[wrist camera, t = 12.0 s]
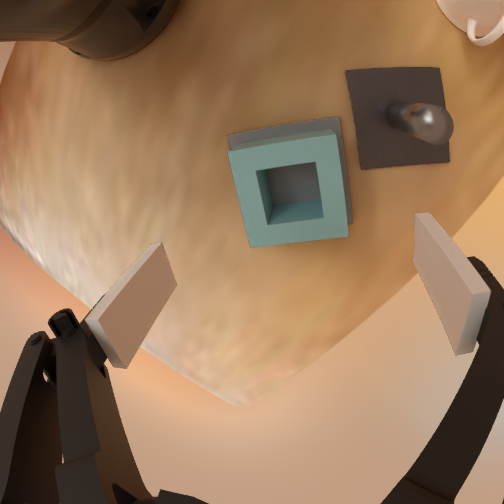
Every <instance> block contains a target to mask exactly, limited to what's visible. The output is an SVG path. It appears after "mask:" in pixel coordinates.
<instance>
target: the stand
mask: <svg viewBox="0 0 504 504" xmlns="http://www.w3.org/2000/svg"><path fill="white" fill-rule="evenodd" d="M345 74H346V79H347V84H348V89H349V94H350V99H351V105H352V111H353V117H354V123H355V129H356V136H357V143H358V150H359V158H360V166H361V169H370V168H380V167H391V166H403V165H415V164H429V163H446V162H450V155H449V139H450V137H451V135H452V133H453V120H452V118H451V116H450V114H449V112H448V111H447V110H446V108H445V100H444V93H443V86H442V80H441V74H440V68H433V67H395V68H372V69H357V70H345Z"/></svg>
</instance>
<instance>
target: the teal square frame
mask: <svg viewBox="0 0 504 504" xmlns="http://www.w3.org/2000/svg"><path fill="white" fill-rule="evenodd" d="M227 154H228V158H229V162H230V166H231V170H232V175H233V179H234V183H235V187H236V191H237V195H238V199H239V204H240V208H241V212H242V216H243V220H244V224H245V229H246V233H247V237H248V241H249V245H250V248H255V247H264V246H272V245H281V244H289V243H297V242H306V241H314V240H323V239H332V238H340V237H349V235H348V224H347V214H346V204H345V195H344V187H343V179H342V171H341V164H340V157H339V150H338V144H337V138H336V134H335V133H334V132H333V130H332V129H325V130H317V131H310V132H303V133H296V134H290V135H284V136H278V137H272V138H266V139H260V140H255V141H250V142H245V143H240V144H238V145H237V146H235V147H234V148H232V149H231V150H230V151H228V152H227ZM309 162H316V168H317V174H318V180H319V187H320V194H321V200H316V201H308V202H301V203H293V204H286V205H279V206H273V203H272V198H271V193H270V188H269V184H268V179H267V174H266V169H269V168H275V167H281V166H288V165H295V164H302V163H309Z"/></svg>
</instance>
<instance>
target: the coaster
mask: <svg viewBox="0 0 504 504" xmlns="http://www.w3.org/2000/svg"><path fill="white" fill-rule="evenodd" d="M325 129H332V130H333V132H334V133H335V134H336V138H337V144H338V150H339V157H340V164H341V171H342V179H343V187H344V195H345V204H346V214H347V224H351V223H353V218H352V208H351V198H350V189H349V180H348V172H347V165H346V158H345V151H344V144H343V137H342V131H341V125H340V119H339V117H330V118H322V119H314V120H307V121H300V122H294V123H288V124H281V125H276V126H270V127H264V128H259V129H254V130H249V131H244V132H239V133H234V134H229V135H227V138H228V142H229V147H230V150H231V149H232V148H234V147H235V146H237V145H238V144H240V143H245V142H250V141H255V140H260V139H266V138H272V137H278V136H284V135H290V134H296V133H303V132H310V131H317V130H325ZM266 174H267V179H268V184H269V188H270V193H271V198H272V203H273V206H279V205H286V204H293V203H301V202H308V201H316V200H321V194H320V187H319V180H318V174H317V168H316V162H309V163H302V164H295V165H288V166H281V167H275V168H269V169H266Z"/></svg>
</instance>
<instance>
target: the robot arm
mask: <svg viewBox="0 0 504 504" xmlns="http://www.w3.org/2000/svg"><path fill="white" fill-rule="evenodd" d="M178 2H179V0H0V42H3V41H4V42H5V41H51V42H57V43H59V44H61V45H63V46H66V47H68V48H69V49H70V50H71V51H72V52H73V53H75V54H77V55H78V56H81V57H83V58H87V59H92V60H115V59H120V58H123V57H126V56H129V55H131V54H133V53H135V52H137V51H139V50H140V49H142V48H143V47H145V46H146V45H147V44H149V43H150V42H151V41H152V40H153V39H155V38H156V37H157V36H158V35H159V33H160V32H161V31H162V30H163V29H164V28H165V26H166V25H167V24H168V22H169V21H170V19H171V18H172V16H173V14H174V12H175V10H176V8H177V5H178ZM413 263H414V265H415V267H416V269H417V271H418V273H419V275H420V277H421V279H422V281H423V283H424V285H425V287H426V289H427V291H428V293H429V295H430V298H431V300H432V302H433V304H434V306H435V308H436V310H437V313H438V315H439V317H440V319H441V322H442V324H443V326H444V329H445V331H446V333H447V335H448V338H449V341H450V343H451V345H452V348H453V350H454V353H455V355H456V356H457V355H461V354H466V353H470V352H473V349H474V347H475V344H476V341H478V343H479V348H478V350H477V352H476V355H475V357H474V359H473V362H472V364H471V366H470V368H469V370H468V372H467V375H466V377H465V379H464V381H463V383H462V385H461V387H460V389H459V391H458V393H457V394H456V396H455V398H454V400H453V402H452V404H451V406H450V407H449V409H448V411H447V413H446V414H445V416H444V418H443V420H442V421H441V423H440V425H439V426H438V428H437V429H436V431H435V433H434V434H433V436H432V438H431V439H430V441H429V442H428V444H427V445H426V447H425V448H424V450H423V451H422V453H421V454H420V456H419V457H418V458H417V460H416V461H415V463H414V464H413V466H412V467H411V468H410V469H409V471H408V472H407V473H406V475H405V476H404V477H403V478H402V479H401V480H400V481H399V482H398V484H397V485H396V486H395V487H394V488H393V490H392V491H391V492H390V493H389V494H388V496H387V497H386V498H385V499H384V500H383V502H382V503H381V504H454V499H455V497H456V495H457V494H458V492H459V490H460V489H461V487H462V485H463V484H464V482H465V480H466V478H467V477H468V475H469V473H470V471H471V469H472V467H473V466H474V464H475V462H476V460H477V458H478V456H479V454H480V452H481V450H482V448H483V446H484V444H485V442H486V440H487V438H488V435H489V433H490V431H491V429H492V426H493V424H494V422H495V419H496V417H497V414H498V412H499V409H500V407H501V404H502V401H503V399H504V289H503V288H502V286H501V285H500V284H499V282H498V281H497V280H496V278H495V277H494V276H493V274H492V273H491V272H490V271H489V270H488V268H487V267H486V265H485V264H484V263H483V262H482V261H480V260H479V259H477V258H476V257H474V256H473V257H466V256H465V255H464V254H463V252H462V251H461V250H460V249H459V247H458V246H457V245H456V244H455V243H454V241H453V240H452V239H451V237H450V236H449V235H448V234H447V233H446V231H445V230H444V229H443V228H442V227H441V226H440V224H439V223H438V222H437V221H436V220H435V219H434V217H433V216H432V215H431V214H430V213H429V212H427V213H416V214H415V238H414V259H413ZM176 286H177V283H176V280H175V277H174V274H173V272H172V269H171V266H170V263H169V261H168V258H167V255H166V252H165V249H164V246H163V243H162V242H160V243H153V244H150V245H149V246H148V247H147V248H146V249H145V250H144V251H143V253H142V254H141V255H140V256H139V257H138V258H137V259H136V260H135V261H134V262H133V264H132V265H131V266H130V267H129V268H128V269H127V270H126V271H125V273H124V274H123V275H122V276H121V277H120V278H119V279H118V280H117V282H116V283H115V284H114V285H113V286H112V287H111V289H110V290H109V291H108V292H107V293H106V294H105V295H103V296H102V297H101V299H100V300H99V301H98V302H97V304H96V305H95V306H94V307H93V309H91V311H90V312H89V313H88V314H87V316H86V317H85V318H84V319H83V320H82V322H81V323H80V324H79V322H78V320H77V319H76V317H75V315H74V313H73V312H72V310H71V309H69V308H68V309H63V310H60V311H58V312H56V313H55V314H54V315H53V316H52V317H51V318H50V319H49V321H48V325H49V326H50V328H51V330H52V331H53V333H54V334H55V336H56V338H53V339H49V337H48V335H47V334H46V332H44V331H39V332H37V333H34V334H33V335H31V336H30V338H29V339H28V340H27V342H26V344H25V346H24V348H23V351H22V353H21V356H20V358H19V361H18V363H17V366H16V368H15V371H14V374H13V376H12V379H11V382H10V385H9V387H8V391H7V393H6V397H5V399H4V402H3V405H2V409H1V412H0V504H208V503H206V502H204V501H201V500H199V499H197V498H195V497H192V496H187V495H183V494H178V493H173V492H169V491H165V490H160V492H159V495H158V497H152V495H151V494H150V493H149V492H148V491H147V489H146V487H145V486H144V483H143V481H142V479H141V476H140V473H139V471H138V468H137V465H136V463H135V460H134V457H133V455H132V452H131V449H130V446H129V443H128V440H127V437H126V434H125V431H124V428H123V425H122V422H121V418H120V415H119V411H118V408H117V404H116V401H115V397H114V393H113V389H112V386H111V382H110V378H109V373H108V369H107V367H106V366H105V365H104V362H105V361H106V359H107V358H108V359H109V361H110V363H111V364H112V366H113V367H116V368H124V369H127V367H128V366H129V364H130V362H131V360H132V359H133V357H134V355H135V353H136V352H137V350H138V348H139V347H140V345H141V343H142V342H143V340H144V338H145V337H146V335H147V333H148V332H149V330H150V328H151V327H152V325H153V323H154V322H155V320H156V318H157V317H158V315H159V313H160V312H161V310H162V308H163V307H164V305H165V304H166V302H167V300H168V299H169V297H170V295H171V294H172V292H173V291H174V289H175V287H176ZM43 372H44V373H45V375H46V376H47V377H48V379H47V382H46V381H45V379H44V376H43ZM62 455H63V458H64V463H62ZM502 504H504V500H503V503H502Z"/></svg>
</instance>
